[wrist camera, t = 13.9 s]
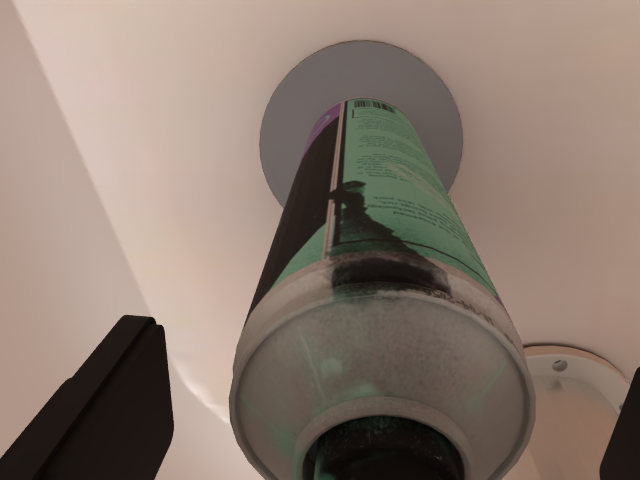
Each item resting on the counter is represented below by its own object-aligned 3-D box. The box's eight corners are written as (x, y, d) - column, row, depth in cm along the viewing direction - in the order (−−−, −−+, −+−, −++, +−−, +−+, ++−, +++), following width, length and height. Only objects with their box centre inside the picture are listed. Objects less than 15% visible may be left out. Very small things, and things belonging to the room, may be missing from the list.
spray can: (288, 124, 24) (92, 478, 6) (393, 75, 23) (549, 335, 5) (334, 219, 26) (292, 698, 8) (433, 178, 25) (650, 640, 7)
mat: (441, 236, 28) (445, 247, 26) (264, 224, 28) (260, 235, 27) (472, 45, 23) (480, 48, 22) (263, 35, 24) (258, 37, 22)
